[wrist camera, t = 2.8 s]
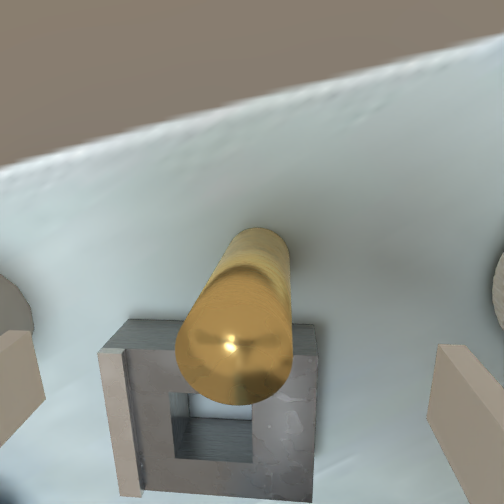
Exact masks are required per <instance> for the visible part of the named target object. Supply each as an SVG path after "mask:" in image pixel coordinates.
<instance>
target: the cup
mask: <svg viewBox="0 0 504 504" xmlns="http://www.w3.org/2000/svg"><path fill="white" fill-rule="evenodd" d="M8 330H19V331H30V333H31V337H32V334H33V331H34V324H33V318H32V312H31V307H30V306H29V304H28V303H27V301H26V299H25V298H24V296H23V295H22V293H21V292H20V290H19V288H18V287H17V286H16V285H14V284H13V283H12V282H10V281H9V280H8V279H6V278H5V277H4V276H2V275H1V274H0V336H1V335H2V334H4V333H5V332H7V331H8Z"/></svg>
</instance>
